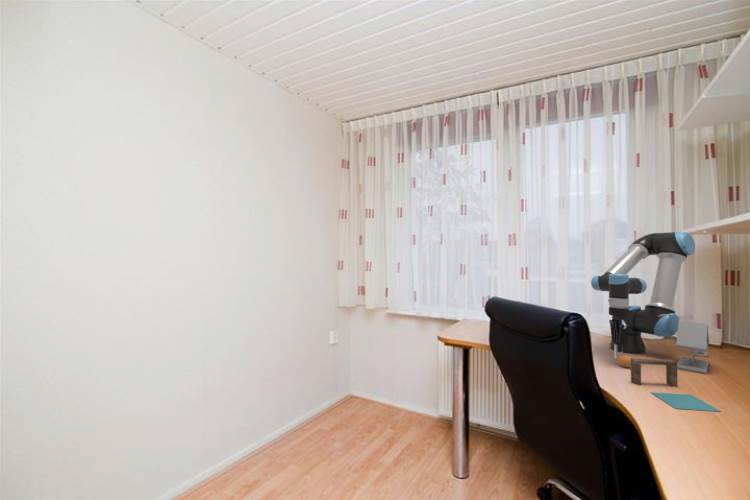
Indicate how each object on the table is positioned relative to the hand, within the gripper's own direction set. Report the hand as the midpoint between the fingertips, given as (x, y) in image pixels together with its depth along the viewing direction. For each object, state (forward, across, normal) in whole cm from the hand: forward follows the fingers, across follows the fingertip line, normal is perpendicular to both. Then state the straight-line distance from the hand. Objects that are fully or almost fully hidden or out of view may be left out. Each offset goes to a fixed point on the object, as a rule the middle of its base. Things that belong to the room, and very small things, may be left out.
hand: (618, 358), depth 156 cm
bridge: (+3, +23, +2) cm, 23 cm away
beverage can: (+1, -24, +46) cm, 52 cm away
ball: (0, +3, +2) cm, 4 cm away
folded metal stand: (+2, -3, +31) cm, 32 cm away
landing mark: (+3, +39, +3) cm, 39 cm away
